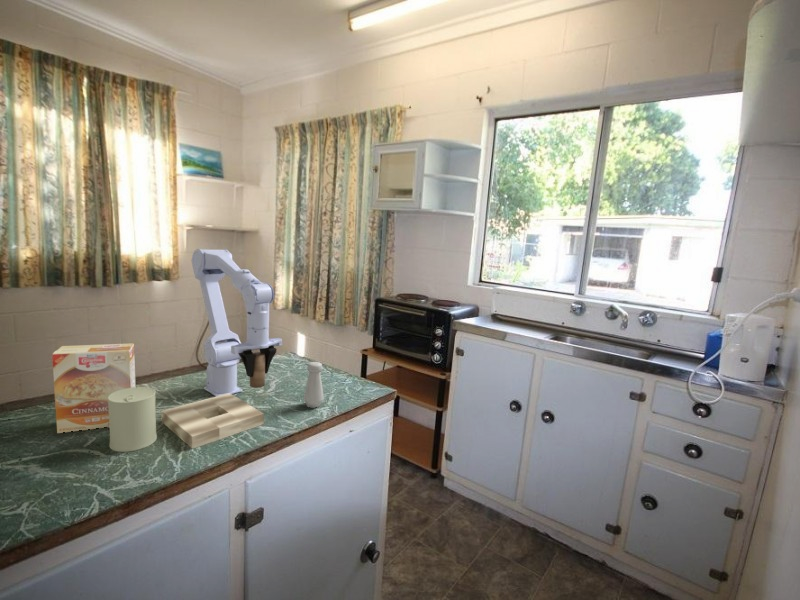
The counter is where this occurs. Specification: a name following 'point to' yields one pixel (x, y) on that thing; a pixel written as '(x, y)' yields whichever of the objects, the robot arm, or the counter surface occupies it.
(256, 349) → the robot arm
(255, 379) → the peg
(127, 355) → the coffeecake box
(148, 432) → the can
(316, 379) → the salt shaker
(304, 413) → the counter surface
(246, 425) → the socket block
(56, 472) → the counter surface
